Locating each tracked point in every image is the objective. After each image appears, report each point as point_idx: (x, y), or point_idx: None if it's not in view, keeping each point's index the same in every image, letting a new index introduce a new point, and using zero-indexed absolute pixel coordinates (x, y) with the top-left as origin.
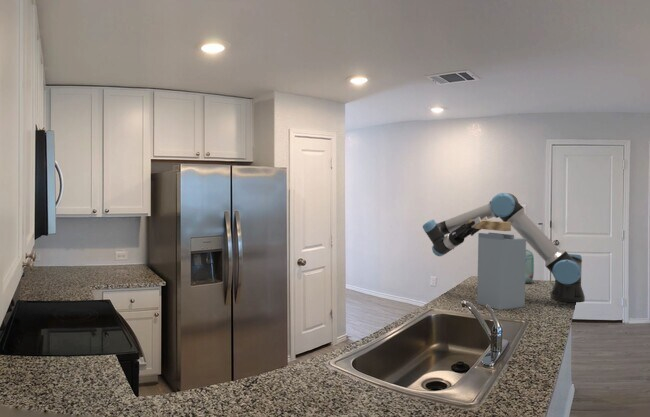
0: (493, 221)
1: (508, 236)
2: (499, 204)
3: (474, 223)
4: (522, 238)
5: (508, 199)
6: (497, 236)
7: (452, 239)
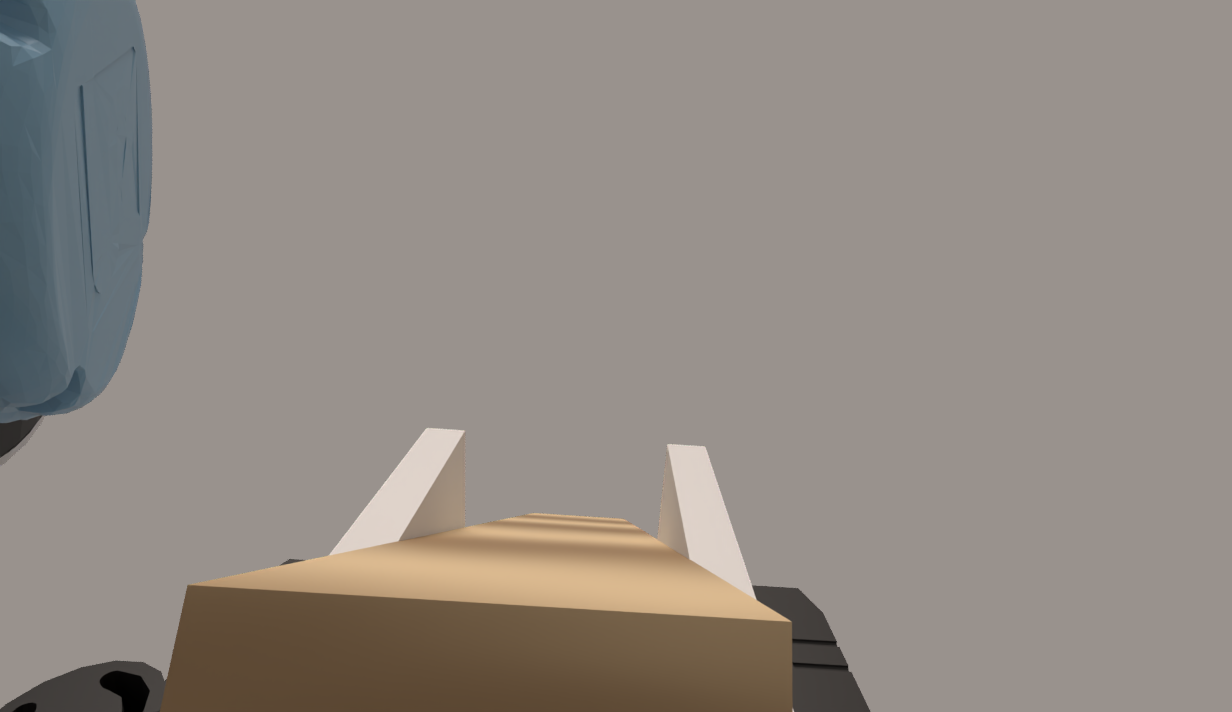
0: (615, 524)
1: None
2: (108, 144)
3: None
4: None
5: (147, 131)
6: None
7: None
